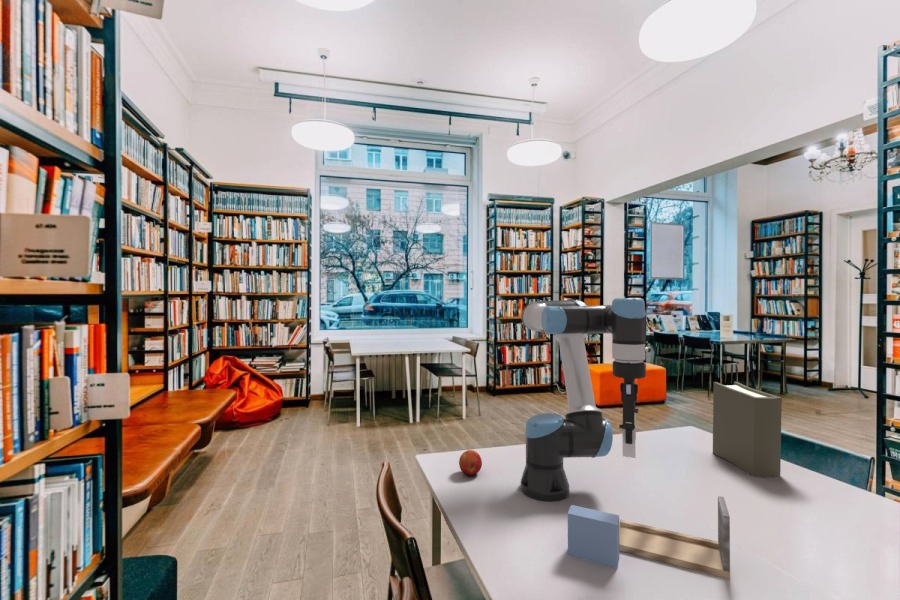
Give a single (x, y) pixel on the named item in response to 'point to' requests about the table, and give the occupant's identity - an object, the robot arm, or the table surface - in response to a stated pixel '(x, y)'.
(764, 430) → the book
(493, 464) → the table surface
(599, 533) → the slim book
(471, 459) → the apple
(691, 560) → the shelf
